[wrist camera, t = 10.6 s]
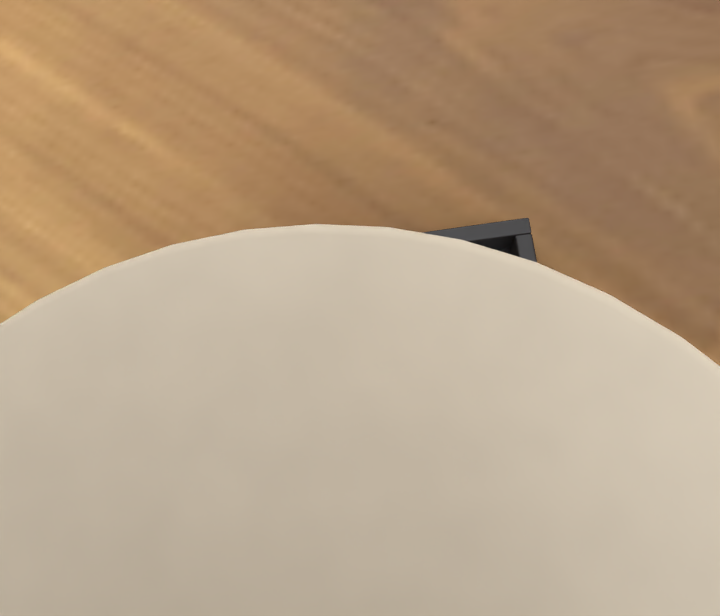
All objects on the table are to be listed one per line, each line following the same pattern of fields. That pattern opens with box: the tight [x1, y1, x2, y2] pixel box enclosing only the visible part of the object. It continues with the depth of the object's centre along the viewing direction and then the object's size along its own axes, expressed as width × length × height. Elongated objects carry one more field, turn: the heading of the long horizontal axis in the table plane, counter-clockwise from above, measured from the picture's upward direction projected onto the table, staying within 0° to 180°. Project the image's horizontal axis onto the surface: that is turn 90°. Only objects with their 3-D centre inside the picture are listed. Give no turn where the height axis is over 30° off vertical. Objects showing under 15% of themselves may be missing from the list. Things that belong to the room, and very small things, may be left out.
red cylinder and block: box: [0, 224, 720, 616], centre depth 9 cm, size 9×7×12 cm
